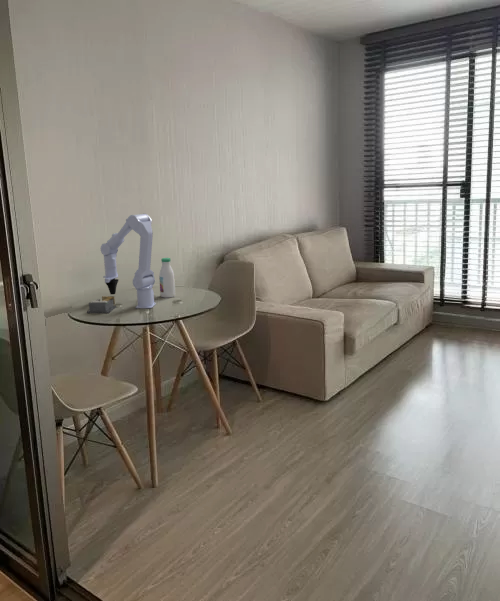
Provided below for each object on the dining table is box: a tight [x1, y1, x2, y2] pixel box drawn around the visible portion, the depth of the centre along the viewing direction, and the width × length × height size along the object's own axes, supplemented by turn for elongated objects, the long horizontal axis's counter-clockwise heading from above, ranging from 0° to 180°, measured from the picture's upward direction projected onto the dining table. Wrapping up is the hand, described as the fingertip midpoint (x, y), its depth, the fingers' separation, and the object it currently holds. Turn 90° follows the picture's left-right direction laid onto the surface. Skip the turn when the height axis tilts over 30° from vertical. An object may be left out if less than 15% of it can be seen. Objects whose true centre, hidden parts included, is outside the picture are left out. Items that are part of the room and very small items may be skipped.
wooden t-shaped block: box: [101, 295, 116, 305], centre depth 260 cm, size 10×6×4 cm, turn 176°
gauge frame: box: [86, 298, 117, 314], centre depth 255 cm, size 12×10×5 cm
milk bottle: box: [158, 257, 176, 298], centre depth 280 cm, size 8×8×20 cm
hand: (112, 294), depth 271 cm, fingers closed
